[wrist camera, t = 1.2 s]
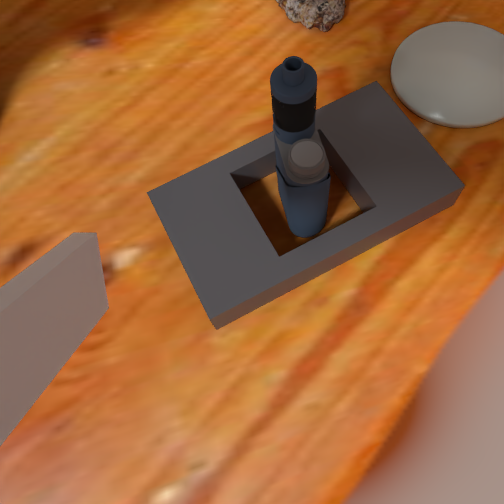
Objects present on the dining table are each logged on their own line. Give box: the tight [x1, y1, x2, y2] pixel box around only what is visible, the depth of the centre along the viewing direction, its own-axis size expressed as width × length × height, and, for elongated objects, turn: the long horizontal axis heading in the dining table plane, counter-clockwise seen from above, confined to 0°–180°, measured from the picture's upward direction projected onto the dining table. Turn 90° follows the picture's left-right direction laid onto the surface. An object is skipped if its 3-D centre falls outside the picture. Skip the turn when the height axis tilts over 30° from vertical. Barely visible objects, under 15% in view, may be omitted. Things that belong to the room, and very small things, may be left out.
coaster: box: [390, 22, 504, 128], centre depth 36 cm, size 10×10×1 cm
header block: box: [147, 81, 465, 330], centre depth 32 cm, size 10×18×2 cm, turn 117°
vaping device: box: [270, 56, 331, 237], centre depth 28 cm, size 3×5×12 cm, turn 13°
